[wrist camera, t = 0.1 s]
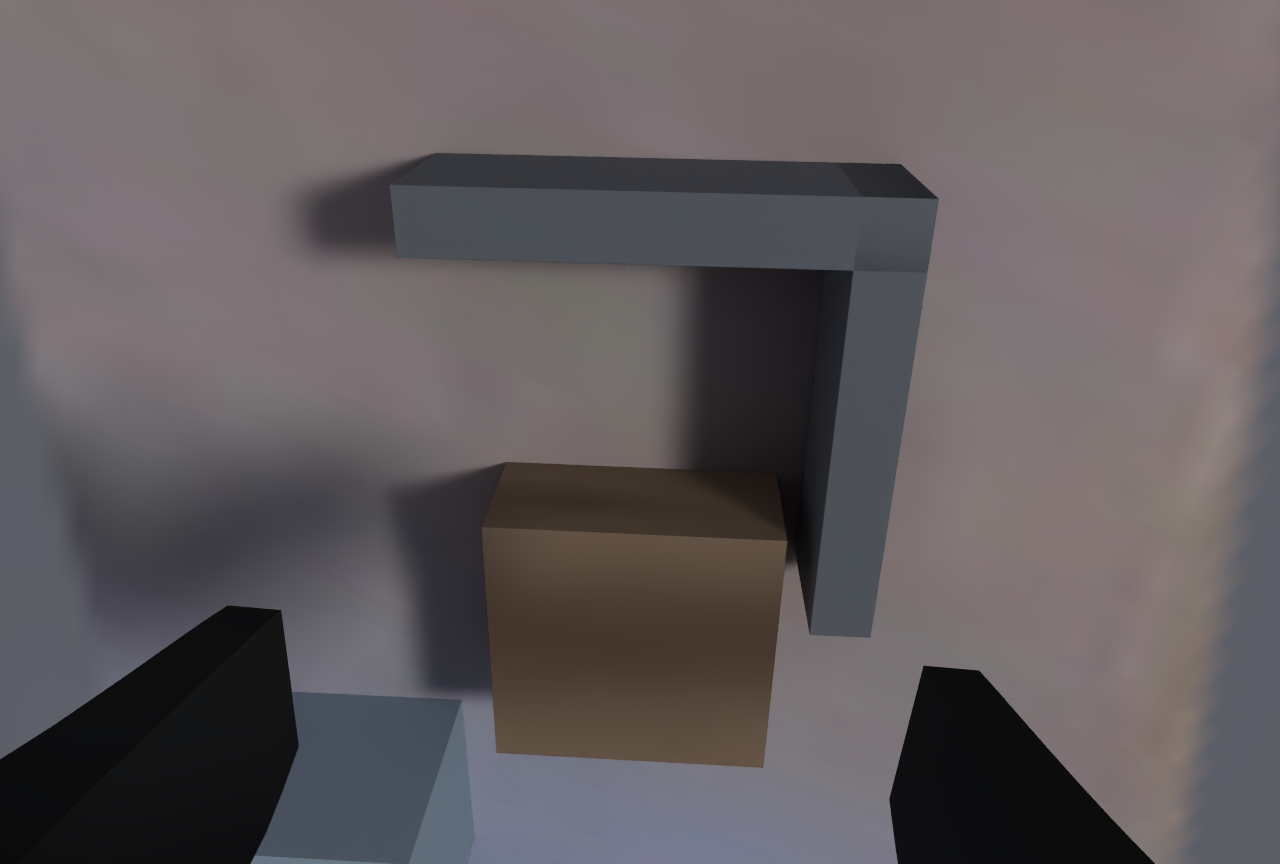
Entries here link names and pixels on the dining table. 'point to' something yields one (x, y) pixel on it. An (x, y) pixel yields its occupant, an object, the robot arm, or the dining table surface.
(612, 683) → the walnut block
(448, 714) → the blue-grey cube
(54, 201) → the dining table surface
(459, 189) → the corner jig
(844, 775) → the dining table surface
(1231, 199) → the dining table surface
